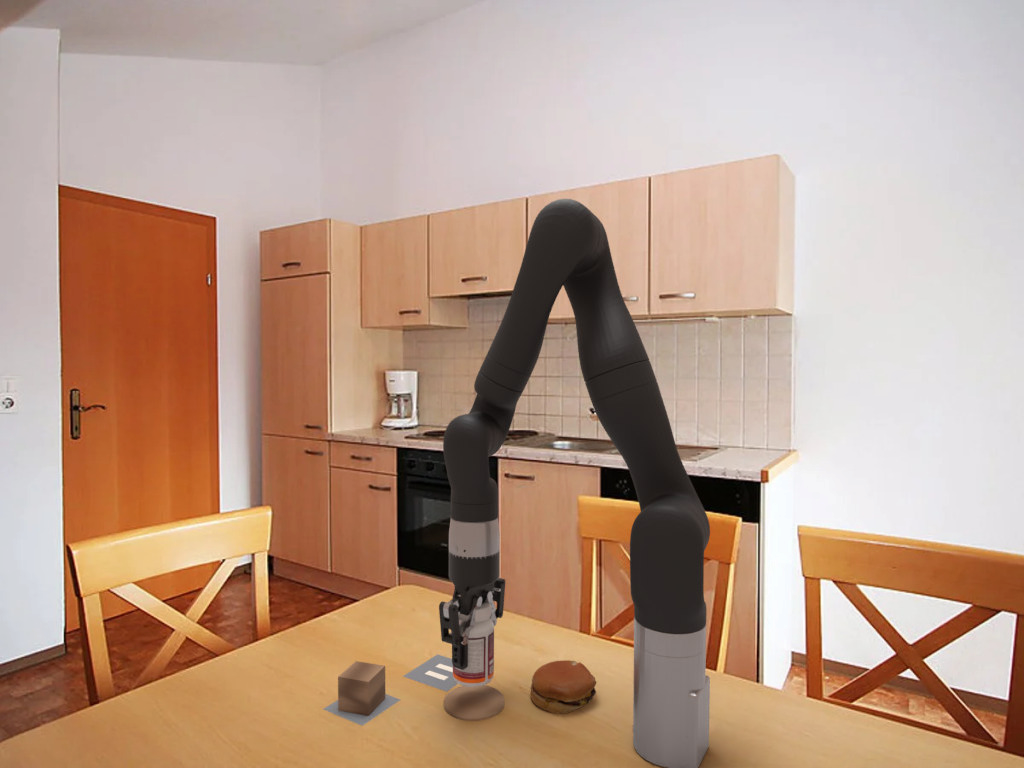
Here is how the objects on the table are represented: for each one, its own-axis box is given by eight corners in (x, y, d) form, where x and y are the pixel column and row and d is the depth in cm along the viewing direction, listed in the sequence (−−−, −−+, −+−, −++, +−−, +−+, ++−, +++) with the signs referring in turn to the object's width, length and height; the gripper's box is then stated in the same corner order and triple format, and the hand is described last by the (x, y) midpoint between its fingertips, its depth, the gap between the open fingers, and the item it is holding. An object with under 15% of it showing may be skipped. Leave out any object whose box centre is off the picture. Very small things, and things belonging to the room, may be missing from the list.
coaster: (515, 698, 96) (515, 694, 96) (481, 728, 88) (481, 723, 88) (467, 682, 100) (467, 678, 100) (431, 709, 93) (431, 705, 93)
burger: (524, 710, 93) (525, 679, 93) (538, 679, 102) (538, 651, 102) (591, 721, 90) (592, 689, 90) (599, 688, 99) (600, 659, 99)
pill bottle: (477, 664, 98) (478, 592, 98) (502, 679, 94) (502, 604, 93) (444, 676, 95) (444, 602, 94) (468, 693, 90) (468, 615, 89)
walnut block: (385, 698, 96) (385, 665, 95) (368, 715, 91) (368, 681, 91) (356, 693, 97) (355, 661, 97) (338, 710, 92) (338, 676, 92)
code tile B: (400, 700, 95) (400, 699, 95) (362, 726, 88) (362, 725, 88) (362, 685, 99) (362, 685, 99) (322, 709, 93) (322, 708, 93)
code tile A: (479, 668, 105) (479, 667, 105) (446, 692, 98) (446, 691, 98) (437, 654, 110) (437, 654, 110) (402, 676, 102) (402, 676, 102)
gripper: (466, 565, 85) (465, 686, 86) (520, 539, 97) (520, 646, 98) (423, 555, 89) (422, 671, 90) (481, 532, 101) (480, 634, 102)
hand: (473, 657), depth 94 cm, fingers closed on pill bottle, 6 cm apart
